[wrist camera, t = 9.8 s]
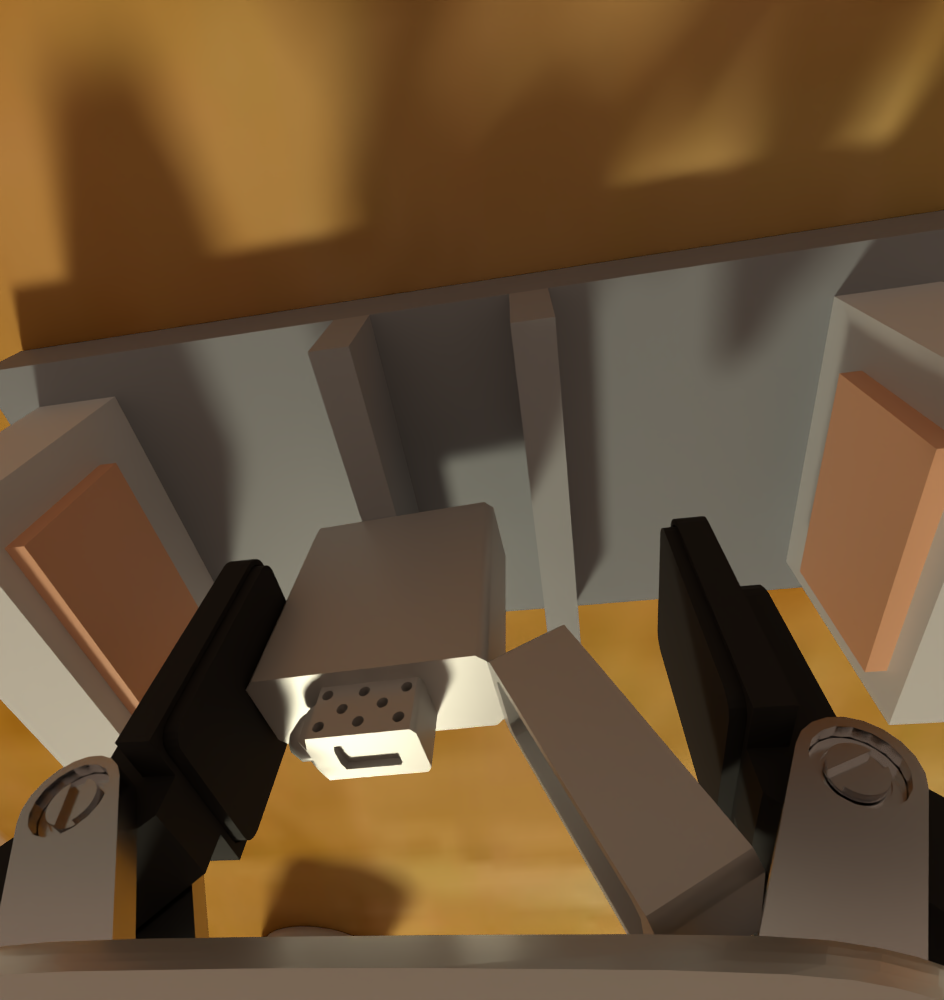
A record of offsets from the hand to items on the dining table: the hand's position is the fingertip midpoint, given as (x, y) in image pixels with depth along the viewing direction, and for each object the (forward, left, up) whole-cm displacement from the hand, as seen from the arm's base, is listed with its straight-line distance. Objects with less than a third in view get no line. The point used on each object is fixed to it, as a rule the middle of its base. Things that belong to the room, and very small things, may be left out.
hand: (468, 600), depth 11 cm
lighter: (0, 0, -2) cm, 2 cm away
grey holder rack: (0, 0, -6) cm, 6 cm away
